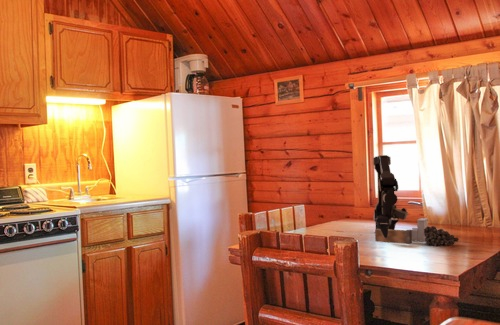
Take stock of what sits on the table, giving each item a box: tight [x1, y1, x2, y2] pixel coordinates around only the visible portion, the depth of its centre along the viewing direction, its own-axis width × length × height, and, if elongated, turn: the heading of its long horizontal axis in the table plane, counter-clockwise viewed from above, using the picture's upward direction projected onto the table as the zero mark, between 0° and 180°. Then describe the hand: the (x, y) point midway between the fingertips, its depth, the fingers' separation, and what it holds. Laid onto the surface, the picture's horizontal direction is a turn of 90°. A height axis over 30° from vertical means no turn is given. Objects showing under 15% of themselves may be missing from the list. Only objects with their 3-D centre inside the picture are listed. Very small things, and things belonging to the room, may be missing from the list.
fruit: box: [424, 225, 459, 247], centre depth 222 cm, size 9×8×15 cm
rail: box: [374, 228, 413, 245], centre depth 233 cm, size 16×4×6 cm, turn 57°
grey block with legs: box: [411, 217, 429, 242], centre depth 237 cm, size 7×8×10 cm
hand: (388, 236), depth 234 cm, fingers open, 9 cm apart
